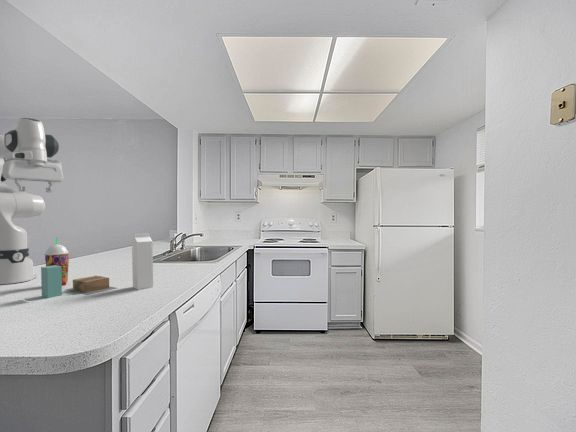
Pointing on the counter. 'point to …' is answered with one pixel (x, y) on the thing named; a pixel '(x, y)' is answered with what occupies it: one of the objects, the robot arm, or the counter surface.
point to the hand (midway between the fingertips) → (36, 191)
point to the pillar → (51, 281)
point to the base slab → (90, 284)
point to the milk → (142, 261)
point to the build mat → (92, 291)
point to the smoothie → (58, 259)
